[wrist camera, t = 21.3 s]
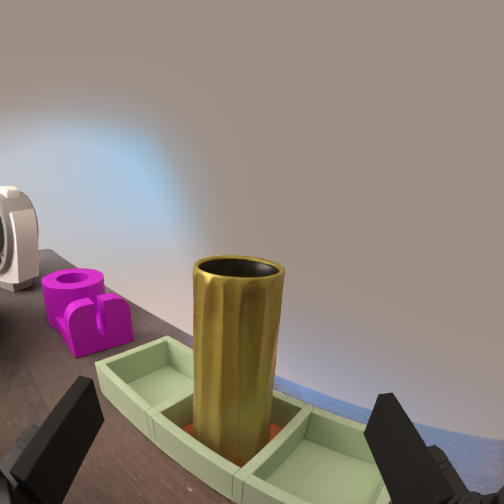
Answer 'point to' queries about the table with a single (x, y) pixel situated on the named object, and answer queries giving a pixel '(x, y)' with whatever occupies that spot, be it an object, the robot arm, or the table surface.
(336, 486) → the tray
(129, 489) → the table surface
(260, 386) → the vase
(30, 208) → the alarm clock
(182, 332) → the table surface
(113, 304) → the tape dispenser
